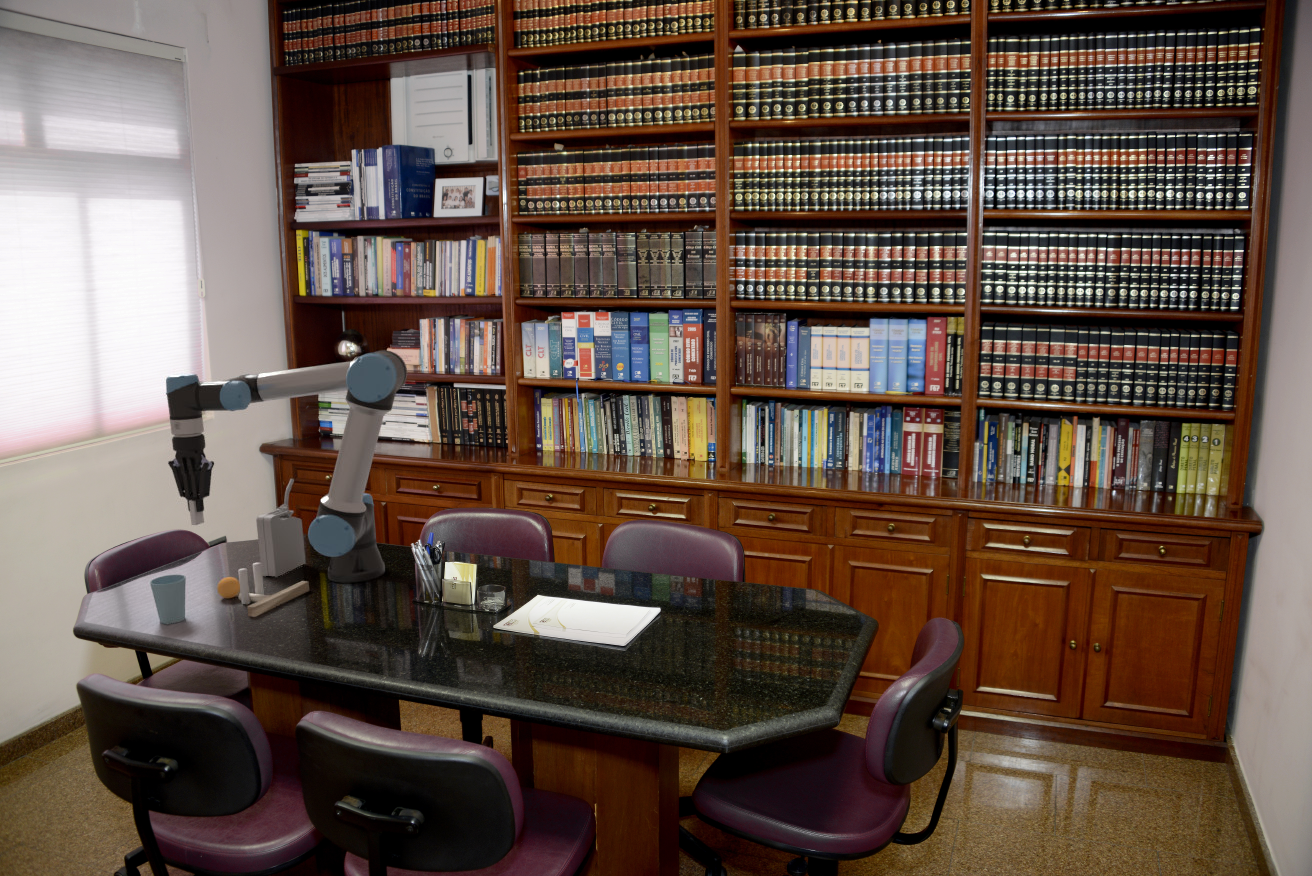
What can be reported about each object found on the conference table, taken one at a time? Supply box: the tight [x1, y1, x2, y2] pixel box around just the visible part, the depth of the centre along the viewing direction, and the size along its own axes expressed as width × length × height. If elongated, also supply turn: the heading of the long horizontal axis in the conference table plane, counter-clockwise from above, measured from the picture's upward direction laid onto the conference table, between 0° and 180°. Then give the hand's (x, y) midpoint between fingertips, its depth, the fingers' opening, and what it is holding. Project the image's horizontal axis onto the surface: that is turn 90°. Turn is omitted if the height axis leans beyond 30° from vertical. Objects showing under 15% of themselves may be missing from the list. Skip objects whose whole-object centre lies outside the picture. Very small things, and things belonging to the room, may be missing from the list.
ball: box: [216, 576, 240, 599], centre depth 242 cm, size 6×6×6 cm
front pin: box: [238, 592, 272, 603], centre depth 239 cm, size 2×2×9 cm
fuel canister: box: [256, 478, 306, 578], centre depth 264 cm, size 15×5×25 cm, turn 163°
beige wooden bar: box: [247, 580, 310, 618], centre depth 237 cm, size 2×20×2 cm, turn 162°
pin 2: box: [252, 562, 265, 595], centre depth 242 cm, size 2×2×9 cm
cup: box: [149, 574, 187, 625], centre depth 226 cm, size 8×8×10 cm
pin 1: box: [237, 568, 251, 605], centre depth 237 cm, size 2×2×9 cm
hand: (197, 523), depth 242 cm, fingers closed
